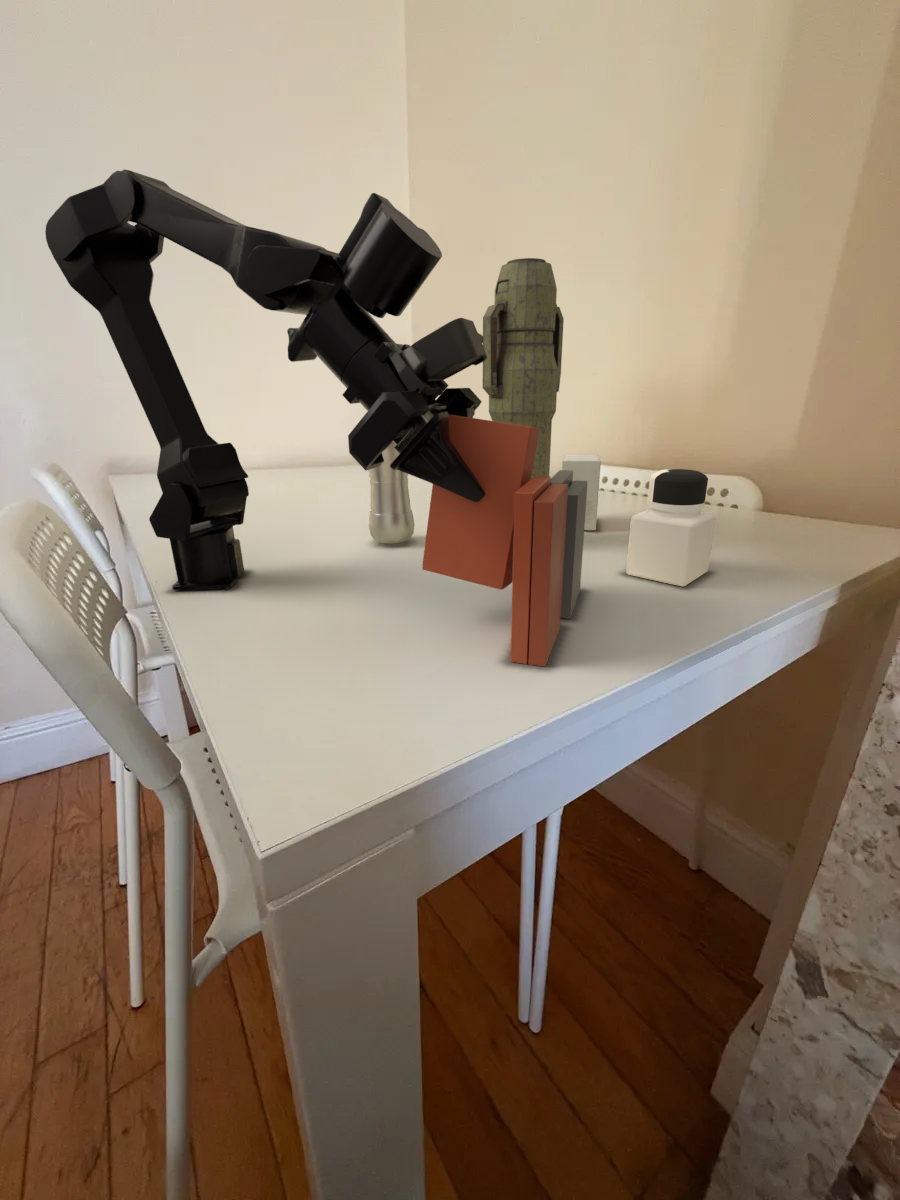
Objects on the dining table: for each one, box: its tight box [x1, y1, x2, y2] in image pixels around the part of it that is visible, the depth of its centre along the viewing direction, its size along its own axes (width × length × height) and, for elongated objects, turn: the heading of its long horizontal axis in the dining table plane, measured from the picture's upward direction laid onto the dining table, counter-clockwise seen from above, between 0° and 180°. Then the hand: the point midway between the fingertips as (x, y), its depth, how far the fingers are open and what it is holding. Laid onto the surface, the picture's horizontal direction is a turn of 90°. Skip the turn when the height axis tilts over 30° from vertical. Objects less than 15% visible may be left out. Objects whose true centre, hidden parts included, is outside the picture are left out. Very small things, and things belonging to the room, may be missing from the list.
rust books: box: [510, 475, 568, 667], centre depth 47 cm, size 3×8×14 cm, turn 161°
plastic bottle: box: [368, 440, 415, 545], centre depth 79 cm, size 6×7×20 cm
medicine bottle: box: [625, 468, 717, 587], centre depth 65 cm, size 7×7×12 cm
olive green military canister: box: [482, 257, 565, 479], centre depth 75 cm, size 9×12×35 cm
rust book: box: [421, 415, 540, 591], centre depth 51 cm, size 8×3×14 cm, turn 66°
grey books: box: [550, 469, 588, 620], centre depth 57 cm, size 3×8×13 cm, turn 161°
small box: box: [561, 454, 602, 531], centre depth 88 cm, size 8×6×10 cm
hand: (487, 494), depth 50 cm, fingers closed on rust book, 4 cm apart
